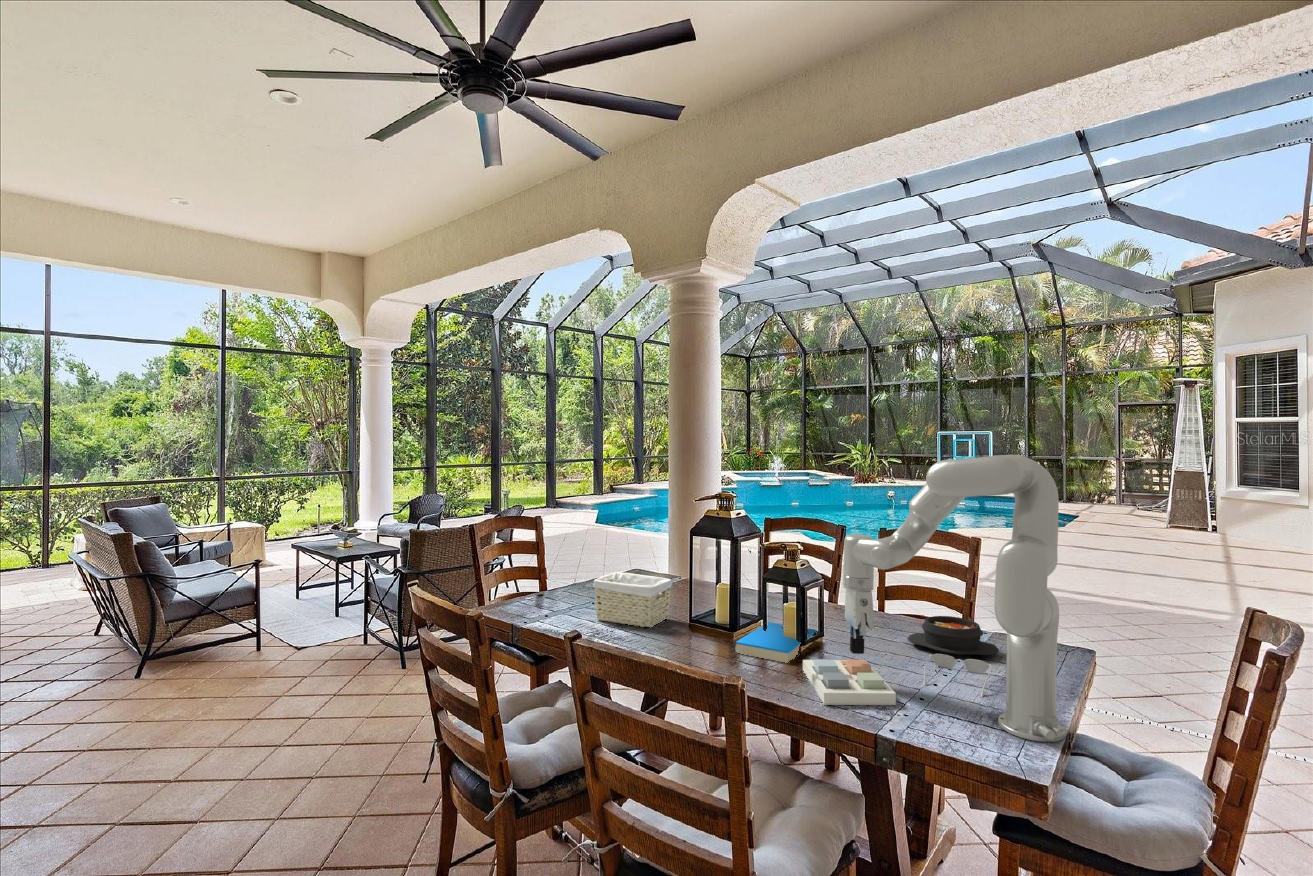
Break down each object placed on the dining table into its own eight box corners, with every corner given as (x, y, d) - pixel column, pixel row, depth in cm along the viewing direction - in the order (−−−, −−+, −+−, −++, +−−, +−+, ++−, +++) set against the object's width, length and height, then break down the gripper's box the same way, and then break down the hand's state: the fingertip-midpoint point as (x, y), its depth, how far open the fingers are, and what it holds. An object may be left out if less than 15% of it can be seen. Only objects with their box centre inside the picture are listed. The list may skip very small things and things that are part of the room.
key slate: (848, 690, 155) (848, 679, 155) (828, 690, 155) (828, 679, 155) (843, 682, 160) (843, 672, 160) (822, 682, 160) (822, 672, 160)
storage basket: (673, 619, 226) (673, 577, 226) (651, 631, 212) (652, 586, 212) (615, 611, 237) (615, 570, 237) (591, 621, 223) (591, 579, 223)
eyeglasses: (991, 676, 173) (991, 662, 173) (986, 700, 157) (987, 683, 157) (929, 666, 181) (929, 652, 181) (919, 687, 165) (919, 672, 165)
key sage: (884, 690, 155) (884, 680, 155) (863, 690, 155) (863, 680, 155) (877, 682, 160) (877, 672, 160) (857, 682, 160) (857, 672, 160)
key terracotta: (871, 676, 165) (871, 666, 165) (851, 676, 165) (851, 666, 165) (865, 669, 170) (865, 659, 170) (846, 669, 170) (846, 659, 170)
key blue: (838, 675, 165) (838, 666, 165) (818, 675, 165) (818, 666, 165) (832, 669, 170) (832, 659, 170) (813, 668, 170) (814, 659, 170)
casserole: (1000, 648, 195) (1000, 621, 195) (996, 666, 179) (996, 636, 179) (913, 635, 208) (913, 609, 208) (902, 651, 192) (902, 623, 192)
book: (817, 629, 202) (789, 650, 181) (817, 643, 202) (789, 666, 180) (766, 621, 211) (734, 640, 190) (766, 634, 211) (733, 655, 190)
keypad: (895, 706, 152) (895, 692, 152) (823, 705, 152) (823, 691, 152) (865, 671, 175) (865, 659, 175) (802, 670, 175) (802, 658, 175)
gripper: (882, 589, 160) (881, 663, 160) (863, 576, 175) (862, 643, 175) (852, 589, 160) (850, 662, 160) (836, 575, 175) (834, 643, 175)
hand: (856, 652), depth 167 cm, fingers closed
